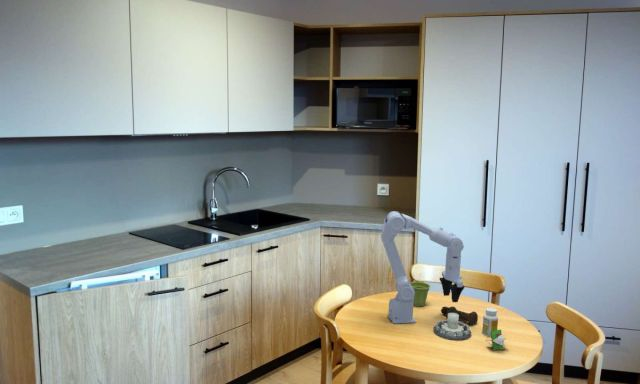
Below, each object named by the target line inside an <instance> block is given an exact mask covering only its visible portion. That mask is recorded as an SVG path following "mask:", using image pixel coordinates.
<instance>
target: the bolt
mask: <svg viewBox="0 0 640 384" xmlns="http://www.w3.org/2000/svg"><path fill="white" fill-rule="evenodd" d="M440 312H441V314H443V315H446V316H447V317H448V313H456V314H458V315H459V320H462V321H465V322H467V323H468V324H467V325H468V326H471V327H473V326H475V325H476V324H477V322H478V319H479V316H478V315H479V314H478V313H477V312H476V311H471V312H464V311H462V310H458V309H457V308H456V307H455V306H450V307H449V306H442V307H441V309H440Z"/></svg>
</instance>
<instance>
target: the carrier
mask: <svg viewBox="0 0 640 384" xmlns="http://www.w3.org/2000/svg"><path fill="white" fill-rule="evenodd" d="M447 322H448V319H444V320H439V321H436V322H435V325H434V326H433V333H434V334H435V335H436V336H437V337H439V338H442V339H446V340H449V341H450V340H451V341H466V340H469V339H470V338H471V337H472V331H471V330H470V328H471V327H469V326H470V325H469V324H465V323H464V322H463V321H458V324H459V326H463V329H464V332H463V333H462V332H456V334H455V335H454V332H449V331H448V334H447V333H446V331H445V330H443V329H441V325H444V323H447Z"/></svg>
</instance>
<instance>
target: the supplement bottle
mask: <svg viewBox="0 0 640 384" xmlns="http://www.w3.org/2000/svg"><path fill="white" fill-rule="evenodd" d="M497 311H498V310H497V309H496V308H495V307H486V308H485V313H484V314H483V320H482V330H481V331H482V334H483V335H485V336H486V337H491V332H490V331H492V330H498V325H499V316H498V315H497V313H498V312H497ZM489 333H490V334H489ZM489 335H490V336H489Z"/></svg>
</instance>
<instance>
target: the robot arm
mask: <svg viewBox="0 0 640 384" xmlns="http://www.w3.org/2000/svg"><path fill="white" fill-rule="evenodd" d="M382 225H383V226H382V228H381V233H380V239H381V241H382V244H383V247H384V249H385V253H386V256H387V259H388V261H389V263H390V267H391V270H392V273H393V276H394V279H395V282H396V283H395V289H396V291H397V293H396V294H395V297H393V298H390V299H389V300H388V315H387V317H388V319H389V320H390V321H391V322H392V323H393V324H411V323H413V324H414V323H417V321H416V319H415V318H414V305H413V303H414V295H415V291H414V289H413V288H412V286H411V282H410V280H408V276H407V274H406V271H405V267H404V264H403V262H402V259H401V256H400V253H399V251H398V248H397V245H396V242H395V238H396V236H397V234H398V233H400V232H401V231H402V230H403V229H405V230H408V229H413V230H416V231H418V232H421V233H422V234H424V235H427V236H428V237H429V240H430V241H432V242H433V243H435V244H438V245H440V246H442V247H445V248H446V255H445V269H444V270H442V271H441V277H439V282H440V283H441V287H442V293H443V296H444V297H449V296H450V293H451V301H452V303H458V302H459V300H460V298H461V297H460V296H461V294H462V292H463V290H464V289H465V286H464V284H463V283H464V282H463V281H462V279H463V276H462V275H461V263H462V260H461V259H462V251H463V250H464V247H465V246H464V243H463V240H462V239H461V238H460V237H459V236H457V235H456V234H454V233H453V232H450V233H449V232H448V231H446V230H444V228H443V227H441V226H439V227H438V226H436V227H430V226H429V225H427V224H424V223H423V222H421V221H419V220H418V219H415V218H413V217H412V216H409V215H406V214H404V213H400V212H399V211H398V210H397V211H396V210H395V211H394V210H393V211H390V212H389V213H388V214H387V215H386V217H385V218H384V219H383V224H382Z"/></svg>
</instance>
